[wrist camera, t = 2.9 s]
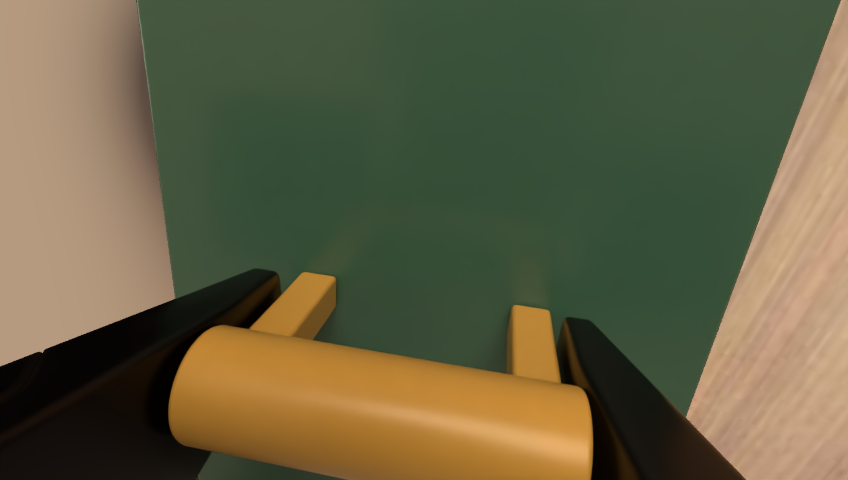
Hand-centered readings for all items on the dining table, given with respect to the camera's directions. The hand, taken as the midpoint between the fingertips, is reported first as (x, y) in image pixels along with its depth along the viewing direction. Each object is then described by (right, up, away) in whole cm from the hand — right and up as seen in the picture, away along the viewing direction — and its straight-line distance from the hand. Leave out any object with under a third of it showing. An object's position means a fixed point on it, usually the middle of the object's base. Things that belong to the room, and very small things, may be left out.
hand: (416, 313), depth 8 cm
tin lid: (0, 0, +1) cm, 1 cm away
